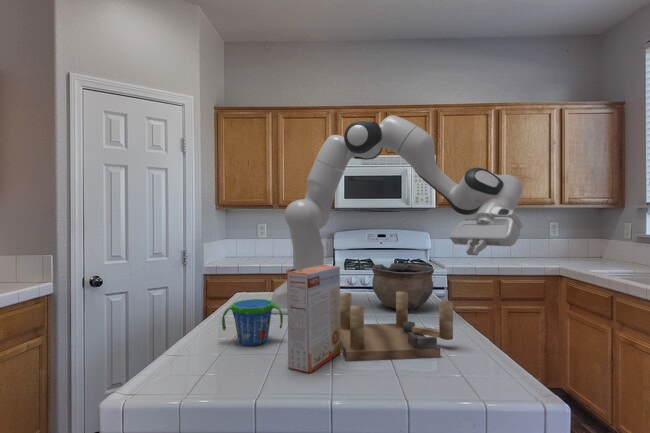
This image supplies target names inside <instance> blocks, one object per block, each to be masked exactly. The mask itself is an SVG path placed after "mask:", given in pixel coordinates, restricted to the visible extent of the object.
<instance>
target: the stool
mask: <svg viewBox="0 0 650 433" xmlns="http://www.w3.org/2000/svg"><path fill="white" fill-rule="evenodd" d="M408 310H409V309H408V293H407V292H396V309H395V315H396V316H395V323H393V322H392V323H367V324H366V323H365V307H364V306H363V305H359V304H358V305H352V293H351V292H340V333H341V352H342V354H343V356H344V358H345V361H346V362H355V361H356V362H357V361H359V362H361V361H379V360H380V361H381V360H384V361H385V360H405V359H427V358H429V359H430V358H432V359H433V358H441V347H439V346H438V337H434V336H427V335H423V334H418V333H413V332H405V331H403V322H407V321H409V318H408V315H409V312H408Z"/></svg>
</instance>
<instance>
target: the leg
mask: <svg viewBox="0 0 650 433" xmlns="http://www.w3.org/2000/svg"><path fill="white" fill-rule="evenodd" d="M438 303H439V304H438V305H439V307H438V309H439V310H438V312H439V315H438V318H439V319H438V322H439V324H438V326H439V328H438V329H437V328H432V327H426V326H420V325H416V323H415V322H413V321H409V320H408V321H407V322H403V331H405V332H413V333H418V334H423V335H424V336H428V337H436V338H439V339H442V340H445V341H450V340H451V341H452V340H454V305H453V304H454V303H453V301H452V300H439V302H438Z"/></svg>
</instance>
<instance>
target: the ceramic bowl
mask: <svg viewBox="0 0 650 433" xmlns="http://www.w3.org/2000/svg"><path fill="white" fill-rule="evenodd" d="M371 270H372V273H373V275H372V276H373V277H372V281H371V282H372V289H373V292H374V294H375V295H376V297H377V298H378V300H379V301H380V302H381V303H382V304H383V305H384V306H386V307H387V308H391V309H395V310H396V292H407V293H408V310H413V309H417V308H419V307H421V306H422V305H424V303H426V302H427V301H428V300H429V298H430V297H431V295H432V294H433V290H434V281H433V280H434V279H433V274H434V272H435V269H434V268H433V267H431V266H427V265H421V264H416V263H407V264H406V265H405V264H404V263H399V262H397V263H390V266H389V267H387V266H385V265H384V264H382V263H381V264H374V265H373V266H371Z"/></svg>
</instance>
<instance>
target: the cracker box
mask: <svg viewBox="0 0 650 433" xmlns="http://www.w3.org/2000/svg"><path fill="white" fill-rule="evenodd" d="M340 269H341V268H340V265H330V264H329V265H327V264H324V265H320V266H315V267H310V268H305V269H301V270H296V271H291V272H288V273H286V276H287V277H286V281H287V298H288V314H287V353H288V355H287V356H288V360H287V362H288V365H287V366H288V369H291V370H295V371H297V372H298V371H300V372H303V373H308V374H311V373H312V372H314V371H316V370H317V369H319V368H320V367H321V366H323V365H324V364H326V363H327V362H329V361H330V360H332V359H334V358H335V357H337V356H338V355H340V354H341V352H342V350H341V333H340V293H341V278H340V277H341V276H340V274H341V273H340V272H341V271H340Z"/></svg>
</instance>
